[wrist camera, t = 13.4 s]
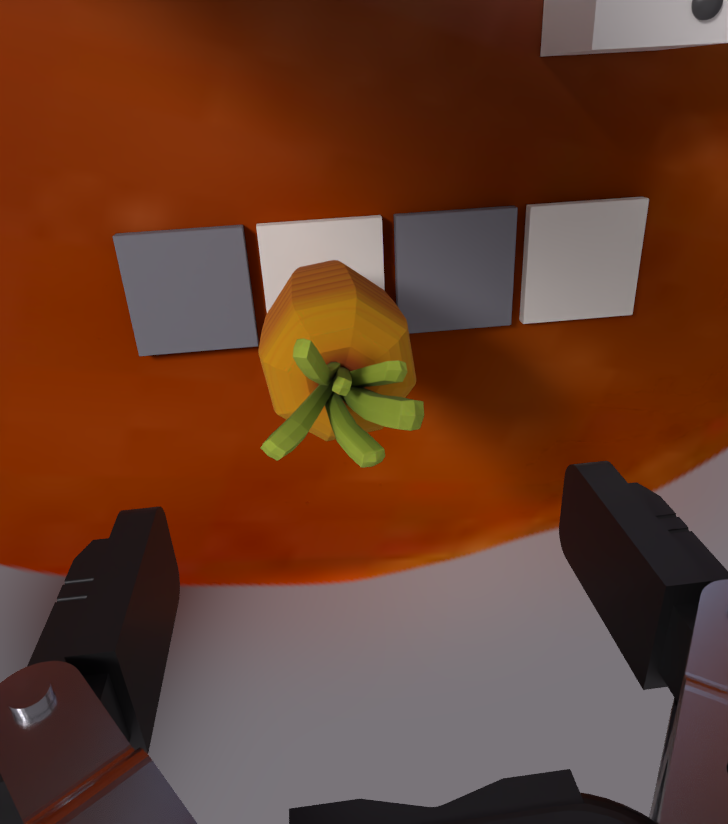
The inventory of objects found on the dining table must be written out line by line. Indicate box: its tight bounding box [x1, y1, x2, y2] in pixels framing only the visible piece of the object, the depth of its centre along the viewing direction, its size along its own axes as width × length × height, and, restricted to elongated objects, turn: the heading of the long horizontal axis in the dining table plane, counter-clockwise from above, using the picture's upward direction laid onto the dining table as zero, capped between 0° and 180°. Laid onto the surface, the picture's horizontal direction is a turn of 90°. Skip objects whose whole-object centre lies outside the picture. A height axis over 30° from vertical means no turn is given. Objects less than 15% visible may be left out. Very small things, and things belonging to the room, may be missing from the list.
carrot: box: [258, 260, 424, 468], centre depth 22 cm, size 5×5×15 cm
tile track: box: [113, 197, 649, 356], centre depth 29 cm, size 5×23×1 cm, turn 93°
